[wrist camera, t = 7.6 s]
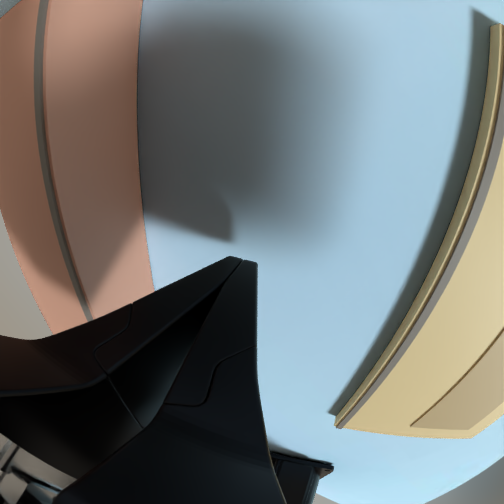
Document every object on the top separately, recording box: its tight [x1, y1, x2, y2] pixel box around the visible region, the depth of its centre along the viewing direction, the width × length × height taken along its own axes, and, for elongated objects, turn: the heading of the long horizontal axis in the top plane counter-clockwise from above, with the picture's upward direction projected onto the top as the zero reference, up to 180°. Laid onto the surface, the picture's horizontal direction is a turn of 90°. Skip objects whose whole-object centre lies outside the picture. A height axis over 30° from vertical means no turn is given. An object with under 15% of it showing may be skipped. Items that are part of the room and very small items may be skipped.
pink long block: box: [0, 0, 155, 335], centre depth 10 cm, size 18×5×4 cm, turn 176°
